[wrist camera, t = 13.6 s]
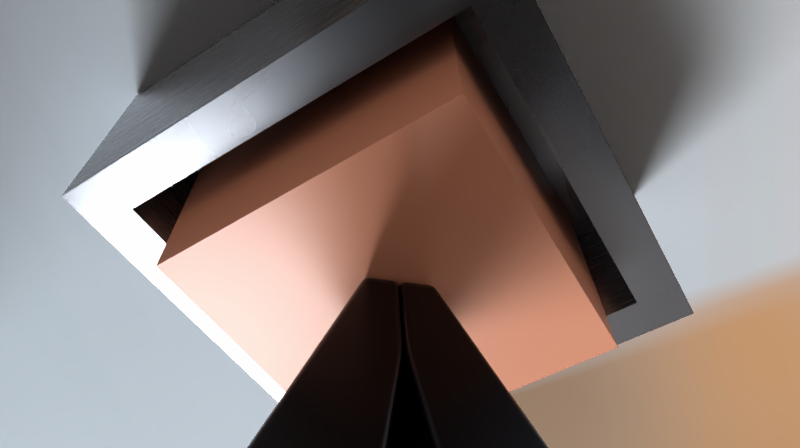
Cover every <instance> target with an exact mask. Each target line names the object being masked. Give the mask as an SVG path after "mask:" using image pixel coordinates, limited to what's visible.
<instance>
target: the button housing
mask: <svg viewBox="0 0 800 448" xmlns="http://www.w3.org/2000/svg"><path fill="white" fill-rule="evenodd" d="M453 16H454V18H455V20H456V21H457V23H458V25H459V27H460V28H461V30H462V32H463V33H464V35H465V37H466V39H467V40H468V42H469V44H470V45H471V47H472V49H473V51H474V52H475V54H476V56H477V58H478V59H479V61H480V63H481V64H482V66H483V68H484V70H485V71H486V73H487V75H488V77H489V78H490V80H491V82H492V83H493V85H494V87H495V89H496V90H497V92H498V94H499V95H500V97H501V99H502V101H503V102H504V104H505V106H506V108H507V109H508V111H509V113H510V114H511V116H512V118H513V120H514V121H515V123H516V125H517V127H518V128H519V130H520V132H521V133H522V135H523V137H524V139H525V140H526V142H527V144H528V146H529V147H530V149H531V151H532V152H533V154H534V156H535V158H536V159H537V161H538V163H539V164H540V166H541V168H542V170H543V171H544V173H545V175H546V177H547V178H548V180H549V182H550V183H551V185H552V187H553V189H554V190H555V192H556V194H557V196H558V197H559V199H560V201H561V202H562V204H563V206H564V208H565V209H566V211H567V213H568V214H569V217H570V220H571V222H572V225H573V228H574V230H575V233H576V236H577V238H578V241H579V244H580V246H581V249H582V252H583V255H584V257H585V260H586V263H587V265H588V268H589V271H590V273H591V276H592V279H593V281H594V284H595V287H596V289H597V292H598V295H599V298H600V300H601V303H602V306H603V308H604V311H605V314H606V316H607V319H608V322H609V324H610V327H611V330H612V333H613V335H614V338H615V341H616V343H617V345H618V344H620V343H623V342H625V341H628V340H630V339H632V338H635V337H637V336H640V335H642V334H645V333H647V332H649V331H652V330H654V329H657V328H659V327H662V326H664V325H666V324H669V323H671V322H674V321H676V320H679V319H681V318H683V317H686V316H688V315H691V314H693V311H692V309H691V307H690V305H689V303H688V301H687V299H686V297H685V295H684V293H683V291H682V289H681V287H680V285H679V283H678V281H677V279H676V277H675V275H674V273H673V271H672V269H671V267H670V265H669V263H668V261H667V259H666V257H665V255H664V253H663V251H662V250H661V248H660V246H659V244H658V242H657V240H656V238H655V236H654V234H653V232H652V230H651V228H650V226H649V224H648V222H647V220H646V218H645V216H644V214H643V212H642V210H641V208H640V206H639V204H638V202H637V200H636V198H635V196H634V194H633V192H632V190H631V188H630V186H629V184H628V182H627V180H626V179H625V177H624V175H623V173H622V171H621V169H620V167H619V165H618V163H617V161H616V159H615V157H614V155H613V153H612V151H611V149H610V147H609V145H608V143H607V141H606V139H605V137H604V135H603V133H602V131H601V129H600V127H599V125H598V123H597V121H596V119H595V117H594V115H593V113H592V111H591V109H590V108H589V106H588V104H587V102H586V100H585V98H584V96H583V94H582V92H581V90H580V88H579V86H578V84H577V82H576V80H575V78H574V76H573V74H572V72H571V70H570V68H569V66H568V64H567V62H566V60H565V58H564V56H563V54H562V52H561V50H560V48H559V46H558V44H557V42H556V40H555V39H554V37H553V35H552V33H551V31H550V29H549V27H548V25H547V23H546V21H545V19H544V17H543V15H542V13H541V11H540V9H539V7H538V5H537V3H536V1H535V0H281V1H279V2H278V3H276V4H275V5H273V6H272V7H270V8H268V9H267V10H265V11H264V12H262V13H261V14H259V15H258V16H256V17H255V18H253V19H252V20H250V21H249V22H247V23H246V24H244V25H243V26H241V27H240V28H238V29H237V30H235V31H234V32H232V33H231V34H229V35H228V36H226V37H225V38H223V39H222V40H220V41H219V42H217V43H216V44H214V45H213V46H211V47H210V48H208V49H207V50H205V51H204V52H202V53H201V54H199V55H198V56H196V57H195V58H193V59H192V60H190V61H189V62H187V63H186V64H184V65H183V66H181V67H180V68H178V69H177V70H175V71H174V72H172V73H171V74H169V75H168V76H166V77H165V78H163V79H162V80H160V81H158V82H157V83H155V84H154V85H152V86H151V87H149V88H148V89H146V90H145V91H143V92H142V93H140V94H139V95H137V96H136V97H135V99H134V100H133V101H132V103H131V104H130V105H129V107H128V108H127V109H126V111H125V112H124V113H123V115H122V116H121V117H120V119H119V120H118V121H117V123H116V124H115V125H114V127H113V128H112V129H111V131H110V132H109V133H108V135H107V136H106V137H105V139H104V140H103V141H102V143H101V144H100V145H99V147H98V148H97V150H96V151H95V152H94V154H93V155H92V156H91V158H90V159H89V160H88V162H87V163H86V164H85V166H84V167H83V168H82V170H81V171H80V172H79V174H78V175H77V176H76V178H75V179H74V180H73V182H72V183H71V184H70V186H69V187H68V188H67V190H66V191H65V192H64V194H63V195H62V197H63V198H64V199H65V200H66V201H67V202H68V203H69V204H70V205H71V206H72V207H73V208H74V209H75V210H76V211H78V212H79V213H80V214H81V215H82V216H83V217H84V218H85V219H86V220H87V221H88V222H89V223H90V224H91V225H92V226H93V227H94V228H95V229H96V230H98V231H99V232H100V233H101V234H102V235H103V236H104V237H105V238H106V239H107V240H108V241H109V242H110V243H111V244H112V245H113V246H114V247H115V248H116V249H118V250H119V251H120V252H121V253H122V254H123V255H124V256H125V257H126V258H127V259H128V260H129V261H130V262H131V263H132V264H133V265H134V266H135V267H136V268H137V269H139V270H140V271H141V272H142V273H143V274H144V275H145V276H146V277H147V278H148V279H149V280H150V281H151V282H152V283H153V284H154V285H155V286H156V287H157V288H159V289H160V290H161V291H162V292H163V293H164V294H165V295H166V296H167V297H168V298H169V299H170V300H171V301H172V302H173V303H174V304H175V305H176V306H177V307H179V308H180V309H181V310H182V311H183V312H184V313H185V314H186V315H187V316H188V317H189V318H190V319H191V320H192V321H193V322H194V323H195V324H196V325H197V326H198V327H200V328H201V329H202V330H203V331H204V332H205V333H206V334H207V335H208V336H209V337H210V338H211V339H212V340H213V341H214V342H215V343H216V344H217V345H218V346H220V347H221V348H222V349H223V350H224V351H225V352H226V353H227V354H228V355H229V356H230V357H231V358H232V359H233V360H234V361H235V362H236V363H237V364H238V365H240V366H241V367H242V368H243V369H244V370H245V371H246V372H247V373H248V374H249V375H250V376H251V377H252V378H253V379H254V380H255V381H256V382H257V383H258V384H259V385H261V386H262V387H263V388H264V389H265V390H266V391H267V392H268V393H269V394H270V395H271V396H272V397H273V398H274V399H275V400H276V401H277V402H279V401H280V399H281V398H282V397H283V395H284V394H285V391H284V390H283V389H282V388H281V387H280V386H279V385H278V384H277V383H276V382H275V381H273V380H272V379H271V378H270V377H269V376H268V375H267V374H266V373H265V372H264V371H263V370H262V369H261V368H260V367H259V366H258V365H257V364H256V363H255V362H254V361H253V360H252V359H251V358H250V357H249V356H248V355H247V354H246V353H245V352H244V351H243V350H242V349H241V348H239V347H238V346H237V345H236V344H235V343H234V342H233V341H232V340H231V339H230V338H229V337H228V336H227V335H226V334H225V333H224V332H223V331H222V330H221V329H220V328H219V327H218V326H217V325H216V324H215V323H214V322H213V321H212V320H211V319H210V318H209V317H208V316H206V315H205V314H204V313H203V312H202V311H201V310H200V309H199V308H198V307H197V306H196V305H195V304H194V303H193V302H192V301H191V300H190V299H189V298H188V297H187V296H186V295H185V294H184V293H183V292H182V291H181V290H180V289H179V288H178V287H177V286H176V285H175V284H174V283H172V282H171V281H170V280H169V279H168V278H167V277H166V276H165V275H164V274H163V273H162V272H161V271H160V270H159V269H158V268H157V267H156V265H157V263H158V260H159V258H160V256H161V254H162V252H163V250H164V247H165V245H166V243H167V241H168V239H169V237H170V234H171V232H172V230H173V228H174V226H175V224H176V222H177V219H178V217H179V215H180V213H181V211H182V209H183V206H184V204H185V202H186V200H187V198H188V196H189V193H190V191H191V189H192V187H193V185H194V183H195V181H196V178H197V176H198V174H199V172H200V170H201V168H202V167H203V166H205V165H207V164H208V163H210V162H212V161H213V160H215V159H217V158H218V157H220V156H222V155H223V154H225V153H227V152H228V151H230V150H232V149H233V148H235V147H237V146H238V145H240V144H242V143H243V142H245V141H247V140H248V139H250V138H252V137H253V136H255V135H257V134H258V133H260V132H262V131H263V130H265V129H267V128H268V127H270V126H272V125H273V124H275V123H277V122H278V121H280V120H282V119H283V118H285V117H287V116H288V115H290V114H292V113H293V112H295V111H297V110H298V109H300V108H302V107H303V106H305V105H307V104H308V103H310V102H312V101H313V100H315V99H317V98H318V97H320V96H322V95H323V94H325V93H326V92H328V91H330V90H331V89H333V88H335V87H336V86H338V85H340V84H341V83H343V82H345V81H346V80H348V79H350V78H351V77H353V76H355V75H356V74H358V73H360V72H361V71H363V70H365V69H366V68H368V67H370V66H371V65H373V64H375V63H376V62H378V61H380V60H381V59H383V58H385V57H386V56H388V55H390V54H391V53H393V52H395V51H396V50H398V49H400V48H401V47H403V46H405V45H406V44H408V43H410V42H411V41H413V40H415V39H416V38H418V37H420V36H421V35H423V34H425V33H426V32H428V31H430V30H431V29H433V28H435V27H436V26H438V25H440V24H441V23H443V22H445V21H446V20H448V19H450V18H451V17H453Z"/></svg>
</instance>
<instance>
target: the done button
mask: <svg viewBox="0 0 800 448" xmlns="http://www.w3.org/2000/svg"><path fill="white" fill-rule="evenodd" d="M156 267H157V268H158V269H159V270H160V271H161V272H162V273H163V274H164V275H165V276H166V277H167V278H168V279H169V280H170V281H171V282H172V283H174V284H175V285H176V286H177V287H178V288H179V289H180V290H181V291H182V292H183V293H184V294H185V295H186V296H187V297H188V298H189V299H190V300H191V301H192V302H193V303H194V304H195V305H196V306H197V307H198V308H199V309H200V310H201V311H202V312H203V313H204V314H205V315H206V316H208V317H209V318H210V319H211V320H212V321H213V322H214V323H215V324H216V325H217V326H218V327H219V328H220V329H221V330H222V331H223V332H224V333H225V334H226V335H227V336H228V337H229V338H230V339H231V340H232V341H233V342H234V343H235V344H236V345H237V346H238V347H239V348H241V349H242V350H243V351H244V352H245V353H246V354H247V355H248V356H249V357H250V358H251V359H252V360H253V361H254V362H255V363H256V364H257V365H258V366H259V367H260V368H261V369H262V370H263V371H264V372H265V373H266V374H267V375H268V376H269V377H270V378H271V379H272V380H273V381H275V382H276V383H277V384H278V385H279V386H280V387H281V388H282V389H283V390H284V391H285V392H286V391H287V389H288V388H289V386H290V385H291V383H292V382H293V381H294V379H295V378H296V376H297V375H298V373H299V372H300V370H301V369H302V367H303V366H304V365H305V363H306V362H307V360H308V359H309V357H310V356H311V354H312V353H313V351H314V350H315V349H316V347H317V346H318V344H319V343H320V341H321V340H322V338H323V337H324V335H325V334H326V333H327V331H328V330H329V328H330V327H331V325H332V324H333V322H334V321H335V319H336V318H337V317H338V315H339V314H340V312H341V311H342V309H343V308H344V306H345V305H346V303H347V302H348V300H349V299H350V298H351V296H352V295H353V293H354V292H355V290H356V289H357V287H358V286H359V284H360V283H361V282H362V281H363V280H364V279H365V278H376V279H384V280H392V281H395V282H396V283H397V284H398V286H400V284H401V283H403V282H408V283H417V284H425V285H431V286H433V287H434V288H436V290H437V291H438V292H439V294H440V295H441V297H442V298H443V299H444V301H445V302H446V304H447V305H448V306H449V308H450V309H451V311H452V312H453V314H454V315H455V316H456V318H457V319H458V321H459V322H460V323H461V325H462V326H463V328H464V329H465V330H466V332H467V333H468V335H469V336H470V338H471V339H472V340H473V342H474V343H475V345H476V346H477V347H478V349H479V350H480V352H481V353H482V355H483V356H484V357H485V359H486V360H487V362H488V363H489V364H490V366H491V367H492V369H493V370H494V372H495V373H496V374H497V376H498V377H499V379H500V380H501V381H502V383H503V384H504V386H505V387H506V389H507V390H508V391H509V392H510V391H513V390H515V389H518V388H520V387H522V386H525V385H527V384H530V383H532V382H535V381H537V380H539V379H542V378H544V377H547V376H549V375H552V374H554V373H556V372H559V371H561V370H564V369H566V368H569V367H571V366H573V365H576V364H578V363H581V362H583V361H586V360H588V359H591V358H593V357H595V356H598V355H600V354H603V353H605V352H608V351H610V350H612V349H615V348H617V347H618V346H617V343H616V341H615V338H614V335H613V333H612V330H611V327H610V324H609V322H608V319H607V316H606V314H605V311H604V308H603V306H602V303H601V300H600V298H599V295H598V292H597V289H596V287H595V284H594V281H593V279H592V276H591V273H590V271H589V268H588V265H587V263H586V260H585V257H584V255H583V252H582V249H581V246H580V244H579V241H578V238H577V236H576V233H575V230H574V228H573V225H572V222H571V220H570V217H569V214H568V213H567V211H566V209H565V208H564V206H563V204H562V202H561V201H560V199H559V197H558V196H557V194H556V192H555V190H554V189H553V187H552V185H551V183H550V182H549V180H548V178H547V177H546V175H545V173H544V171H543V170H542V168H541V166H540V164H539V163H538V161H537V159H536V158H535V156H534V154H533V152H532V151H531V149H530V147H529V146H528V144H527V142H526V140H525V139H524V137H523V135H522V133H521V132H520V130H519V128H518V127H517V125H516V123H515V121H514V120H513V118H512V116H511V114H510V113H509V111H508V109H507V108H506V106H505V104H504V102H503V101H502V99H501V97H500V95H499V94H498V92H497V90H496V89H495V87H494V85H493V83H492V82H491V80H490V78H489V77H488V75H487V73H486V71H485V70H484V68H483V66H482V64H481V63H480V61H479V59H478V58H477V56H476V54H475V52H474V51H473V49H472V47H471V45H470V44H469V42H468V40H467V39H466V37H465V35H464V33H463V32H462V30H461V28H460V27H459V25H458V23H457V21H456V20H455V18H454V16H453V17H451V18H450V19H448V20H446V21H445V22H443V23H441V24H440V25H438V26H436V27H435V28H433V29H431V30H430V31H428V32H426V33H425V34H423V35H421V36H420V37H418V38H416V39H415V40H413V41H411V42H410V43H408V44H406V45H405V46H403V47H401V48H400V49H398V50H396V51H395V52H393V53H391V54H390V55H388V56H386V57H385V58H383V59H381V60H380V61H378V62H376V63H375V64H373V65H371V66H370V67H368V68H366V69H365V70H363V71H361V72H360V73H358V74H356V75H355V76H353V77H351V78H350V79H348V80H346V81H345V82H343V83H341V84H340V85H338V86H336V87H335V88H333V89H331V90H330V91H328V92H326V93H325V94H323V95H322V96H320V97H318V98H317V99H315V100H313V101H312V102H310V103H308V104H307V105H305V106H303V107H302V108H300V109H298V110H297V111H295V112H293V113H292V114H290V115H288V116H287V117H285V118H283V119H282V120H280V121H278V122H277V123H275V124H273V125H272V126H270V127H268V128H267V129H265V130H263V131H262V132H260V133H258V134H257V135H255V136H253V137H252V138H250V139H248V140H247V141H245V142H243V143H242V144H240V145H238V146H237V147H235V148H233V149H232V150H230V151H228V152H227V153H225V154H223V155H222V156H220V157H218V158H217V159H215V160H213V161H212V162H210V163H208V164H207V165H205V166H203V167H202V168H201V170H200V172H199V174H198V176H197V178H196V181H195V183H194V185H193V187H192V189H191V191H190V193H189V196H188V198H187V200H186V202H185V204H184V206H183V209H182V211H181V213H180V215H179V217H178V219H177V222H176V224H175V226H174V228H173V230H172V232H171V234H170V237H169V239H168V241H167V243H166V245H165V247H164V250H163V252H162V254H161V256H160V258H159V260H158V263H157V265H156Z"/></svg>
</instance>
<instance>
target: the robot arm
mask: <svg viewBox="0 0 800 448" xmlns="http://www.w3.org/2000/svg"><path fill="white" fill-rule="evenodd" d="M247 448H548V447H547V445H546V444H545V442H544V441H543V440H542V438H541V437H540V435H539V434H538V433H537V431H536V430H535V429H534V427H533V425H532V424H531V423H530V421H529V420H528V418H527V417H526V415H525V414H524V413H523V411H522V410H521V408H520V407H519V406H518V404H517V403H516V401H515V400H514V398H513V397H512V396H511V394H510V393H509V391H508V390H507V389H506V387H505V386H504V384H503V383H502V381H501V380H500V379H499V377H498V376H497V374H496V373H495V372H494V370H493V369H492V367H491V366H490V364H489V363H488V362H487V360H486V359H485V357H484V356H483V355H482V353H481V352H480V350H479V349H478V347H477V346H476V345H475V343H474V342H473V340H472V339H471V338H470V336H469V335H468V333H467V332H466V330H465V329H464V328H463V326H462V325H461V323H460V322H459V321H458V319H457V318H456V316H455V315H454V314H453V312H452V311H451V309H450V308H449V306H448V305H447V304H446V302H445V301H444V299H443V298H442V297H441V295H440V294H439V292H438V291H437V290H436V288H434V287H433V286H431V285H425V284H417V283H408V282H403V283H401V284H400V286H398V284H397V283H396V282H395V281H392V280H384V279H376V278H365V279H364V280H363V281H362V282H361V283H360V284H359V286H358V287H357V289H356V290H355V292H354V293H353V295H352V296H351V298H350V299H349V300H348V302H347V303H346V305H345V306H344V308H343V309H342V311H341V312H340V314H339V315H338V317H337V318H336V319H335V321H334V322H333V324H332V325H331V327H330V328H329V330H328V331H327V333H326V334H325V335H324V337H323V338H322V340H321V341H320V343H319V344H318V346H317V347H316V349H315V350H314V351H313V353H312V354H311V356H310V357H309V359H308V360H307V362H306V363H305V365H304V366H303V367H302V369H301V370H300V372H299V373H298V375H297V376H296V378H295V379H294V381H293V382H292V383H291V385H290V386H289V388H288V389H287V391H286V392H285V394H284V395H283V397H282V398H281V399H280V401H279V402H278V404H277V405H276V407H275V408H274V410H273V411H272V413H271V414H270V415H269V417H268V418H267V420H266V421H265V423H264V424H263V426H262V427H261V429H260V430H259V431H258V433H257V434H256V436H255V437H254V439H253V440H252V442H251V443H250V445H249V446H248V447H247Z"/></svg>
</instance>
